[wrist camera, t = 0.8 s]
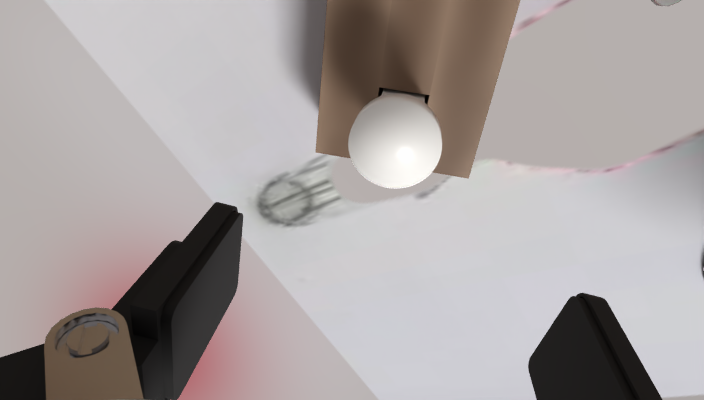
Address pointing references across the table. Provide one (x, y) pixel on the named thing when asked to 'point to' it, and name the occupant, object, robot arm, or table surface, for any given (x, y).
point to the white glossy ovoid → (396, 139)
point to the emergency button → (665, 2)
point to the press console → (414, 66)
